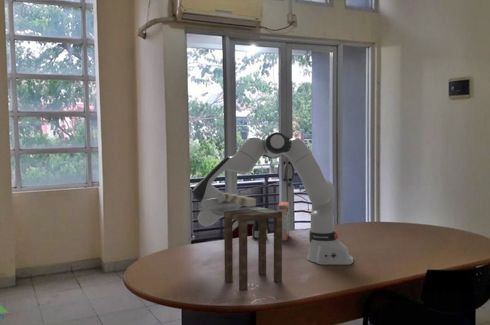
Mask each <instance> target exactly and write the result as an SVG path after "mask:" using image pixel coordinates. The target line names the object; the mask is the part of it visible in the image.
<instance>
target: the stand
mask: <svg viewBox="0 0 490 325" xmlns="http://www.w3.org/2000/svg"><path fill="white" fill-rule="evenodd" d="M268 219H273V282H274V283H277V284H278V283H282V282H283V241H282V212H280V211H278V210H276V209H271V208H267V207H263V206H261V207H260V206H258V207H257V206H254V207H247V208H245V209H244V208H243V209H237V210H235V211H227V212H224V217H223V226H224V228H223V229H224V232H223V234H224V236H223V237H224V243H223V244H224V246H223V249H224V252H223V253H224V282H225V283H227V284H228V283H233V281H234V275H233V274H234V272H233V270H234V267H233V265H234V264H233V262H234V261H233V260H234V259H233V258H234V256H233V247H234V246H233V220H234V221H238V290H239V291H242V292H243V291H248V286H249V285H248V278H249V277H248V271H249V270H248V267H249V266H248V222H251V221H253V222H254V220H258V239H257V244H258V246H257V248H258V251H257V252H258V254H257V256H258V258H257V259H258V263H257V264H258V265H257V266H258V267H257V268H258V269H257V270H258V275H260V276H266V275H267V238H266V226H267V220H268Z"/></svg>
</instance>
